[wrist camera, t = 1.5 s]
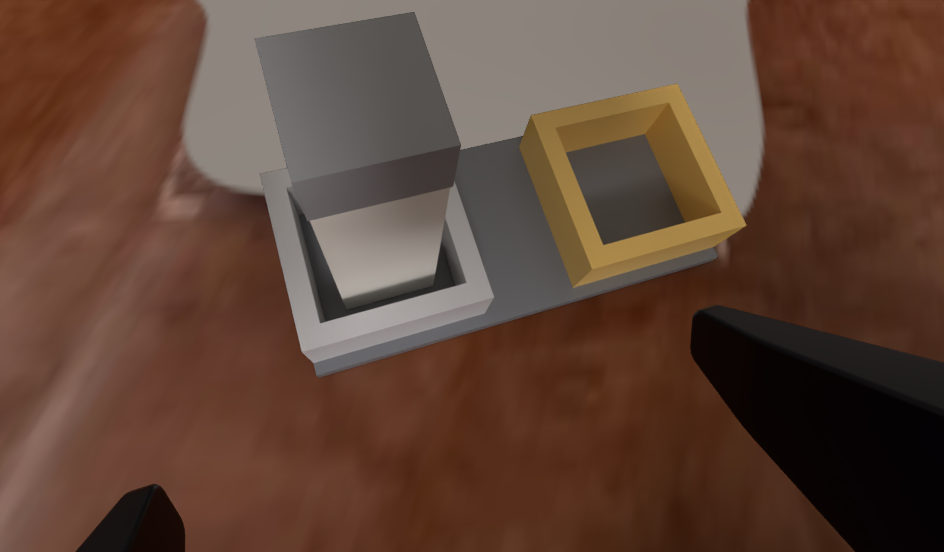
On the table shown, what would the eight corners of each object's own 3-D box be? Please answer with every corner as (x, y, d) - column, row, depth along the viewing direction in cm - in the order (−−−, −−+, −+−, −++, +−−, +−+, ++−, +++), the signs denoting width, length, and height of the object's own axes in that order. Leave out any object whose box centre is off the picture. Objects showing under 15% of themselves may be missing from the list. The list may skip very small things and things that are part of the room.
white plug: (409, 207, 23) (413, 12, 13) (434, 286, 22) (461, 145, 12) (323, 228, 23) (254, 38, 12) (345, 311, 22) (290, 182, 11)
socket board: (643, 115, 27) (672, 74, 24) (710, 261, 25) (751, 236, 22) (275, 198, 23) (256, 162, 20) (319, 377, 21) (305, 366, 18)
